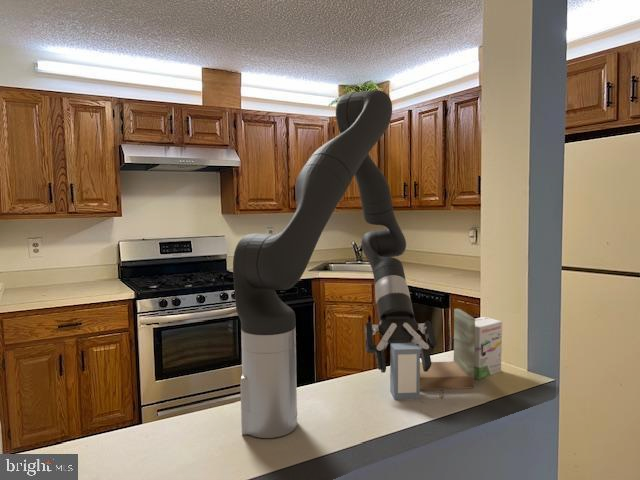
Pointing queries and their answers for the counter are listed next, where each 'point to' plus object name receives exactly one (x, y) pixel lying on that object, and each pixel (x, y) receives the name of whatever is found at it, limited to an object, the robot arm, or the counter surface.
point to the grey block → (404, 371)
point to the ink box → (487, 347)
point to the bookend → (463, 364)
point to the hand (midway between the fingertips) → (405, 370)
